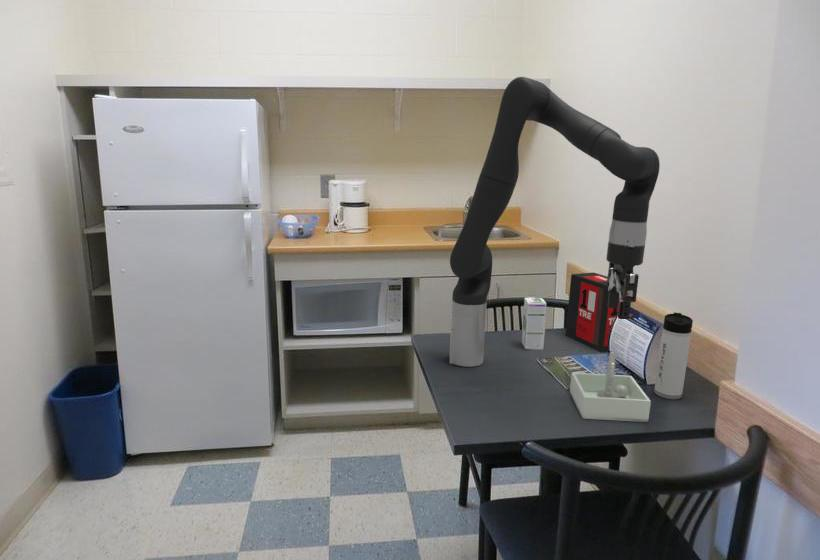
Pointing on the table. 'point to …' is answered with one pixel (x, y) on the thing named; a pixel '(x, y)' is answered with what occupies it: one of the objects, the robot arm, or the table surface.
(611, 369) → the screw
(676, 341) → the travel mug
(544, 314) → the syrup box
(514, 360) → the table surface
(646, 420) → the tub
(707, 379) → the table surface
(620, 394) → the pebble
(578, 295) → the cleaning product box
